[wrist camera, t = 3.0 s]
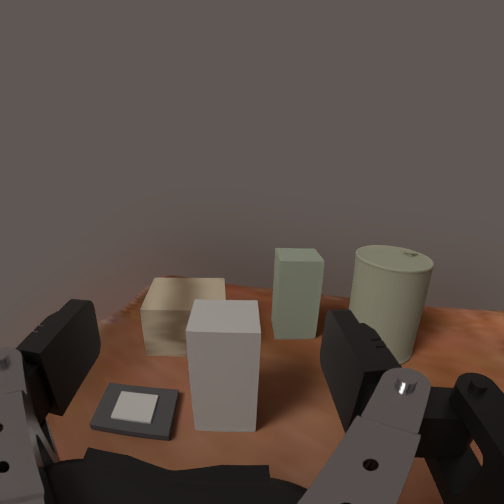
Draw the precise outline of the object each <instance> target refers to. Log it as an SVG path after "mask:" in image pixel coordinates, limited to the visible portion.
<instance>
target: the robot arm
mask: <svg viewBox="0 0 504 504" xmlns="http://www.w3.org/2000/svg"><path fill="white" fill-rule="evenodd" d="M100 346H101V343H100V336H99V331H98V326H97V320H96V315H95V308H94V305H93V303H92V302H91V301H89V300H77V299H71V300H69V301H68V302H67V303H66V304H65V305H64V306H63V307H62V308H61V309H60V310H59V311H58V312H56V313H54V314H52V315H50V316H48V317H47V318H46V319H45V320H44V321H43V322H42V323H41V324H40V326H38V327H36V329H34V332H31V333H30V334H29V336H27V337H26V338H25V340H24V341H23V342H22V343H21V344H20V345H19V346H18V347H17V348H16V349H14V348H0V504H396V503H397V501H398V499H399V496H400V494H401V491H402V489H403V486H404V484H405V481H406V479H407V476H408V473H409V470H410V468H411V465H412V462H413V459H414V457H420V458H425V461H426V463H427V465H428V467H429V470H430V472H431V474H432V476H433V479H434V481H435V483H436V486H437V488H438V490H439V493H440V495H441V497H442V500H443V502H444V504H504V393H503V392H502V391H501V390H500V389H499V388H498V386H497V385H496V384H495V383H494V382H493V381H492V380H491V379H489V378H488V377H486V376H484V375H481V374H478V373H465V374H462V375H461V376H459V377H458V379H457V381H456V383H455V386H454V388H443V387H431V386H430V382H429V380H428V379H427V378H426V377H425V376H424V375H423V374H421V373H419V372H417V371H415V370H412V369H408V368H402V367H401V365H400V364H399V363H398V361H397V360H396V358H395V357H394V355H393V354H392V353H391V351H390V350H389V348H388V347H386V344H385V343H384V341H383V340H381V337H380V336H379V334H378V333H377V332H376V330H374V329H373V328H371V327H370V326H368V325H367V324H365V323H359V321H358V320H357V319H356V317H355V316H354V314H353V313H352V311H351V310H350V309H346V310H328V311H327V313H326V318H325V324H324V331H323V337H322V343H321V349H320V363H321V367H322V370H323V373H324V376H325V378H326V381H327V384H328V387H329V389H330V392H331V395H332V398H333V400H334V403H335V406H336V409H337V412H338V414H339V417H340V420H341V423H342V426H343V428H344V431H345V435H344V437H343V439H342V440H341V442H340V443H339V445H338V446H337V448H336V450H335V451H334V453H333V454H332V456H331V457H330V459H329V460H328V462H327V463H326V465H325V466H324V468H323V469H322V470H321V472H320V473H319V475H318V476H317V478H316V479H315V480H314V482H313V483H312V484H311V486H310V487H309V489H306V488H304V487H301V486H299V485H297V484H294V483H291V482H288V481H284V480H280V479H275V478H270V474H269V465H218V466H211V467H204V468H196V469H188V470H178V471H172V470H167V469H164V468H161V467H158V466H155V465H152V464H149V463H147V462H144V461H141V460H139V459H136V458H133V457H131V456H128V455H123V454H117V453H112V452H107V451H102V450H98V449H93V448H89V447H88V449H87V451H86V454H85V456H84V458H83V459H71V460H65V461H60V458H59V455H58V452H57V449H56V446H55V443H54V440H53V437H52V433H51V430H50V426H49V423H48V421H47V419H46V416H47V414H48V413H51V414H55V415H59V416H63V414H64V413H65V411H66V409H67V408H68V406H69V404H70V402H71V401H72V399H73V397H74V396H75V394H76V392H77V390H78V389H79V387H80V385H81V384H82V382H83V380H84V379H85V377H86V376H87V374H88V372H89V371H90V369H91V367H92V366H93V364H94V363H95V361H96V359H97V358H98V356H99V353H100ZM473 439H474V441H475V442H476V444H477V445H478V447H479V449H480V450H481V452H482V455H483V465H482V467H481V465H480V463H479V461H478V459H477V458H476V456H475V454H474V453H473V451H472V449H471V447H470V446H469V445H470V444H471V442H472V441H473Z"/></svg>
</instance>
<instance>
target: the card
mask: <svg viewBox="0 0 504 504" xmlns="http://www.w3.org/2000/svg"><path fill="white" fill-rule="evenodd" d="M178 397H179V390H173V389H161V388H150V387H140V386H131V385H123V384H115V383H109V385H108V387H107V389H106V391H105V393H104V395H103V397H102V399H101V401H100V403H99V405H98V408H97V410H96V412H95V414H94V416H93V418H92V420H91V422H90V427H91V429H94V430H99V431H105V432H110V433H116V434H122V435H128V436H135V437H142V438H150V439H158V440H168V441H169V440H170V435H171V430H172V425H173V420H174V416H175V411H176V406H177V402H178Z"/></svg>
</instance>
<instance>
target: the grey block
mask: <svg viewBox="0 0 504 504" xmlns="http://www.w3.org/2000/svg"><path fill="white" fill-rule="evenodd" d="M186 343H187V356H188V367H189V377H190V387H191V397H192V406H193V415H194V423H195V430H203V431H229V432H256V415H257V398H258V381H259V362H260V343H261V328H260V320H259V311H258V302H257V301H252V300H203V299H195V300H194V303H193V307H192V310H191V314H190V317H189V321H188V324H187V328H186Z"/></svg>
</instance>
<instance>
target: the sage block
mask: <svg viewBox="0 0 504 504" xmlns="http://www.w3.org/2000/svg"><path fill="white" fill-rule="evenodd" d="M323 272H324V260H323V259H322V257H321V256H320V255H319V254H318V252H317V251H316V250H315V249H300V248H298V249H297V248H276V249H275V267H274V284H273V301H272V317H271V320H272V326H273V331H274V337H275V339H315V336H316V329H317V322H318V314H319V306H320V298H321V289H322V281H323Z"/></svg>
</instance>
